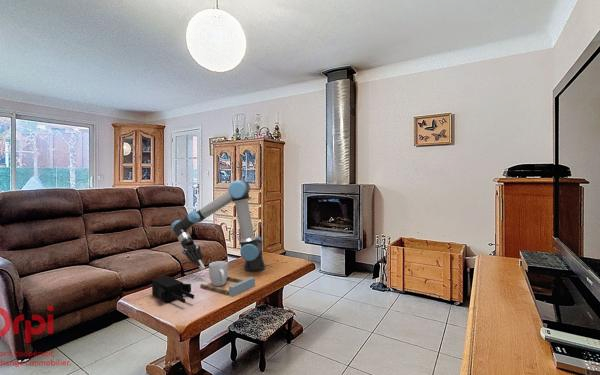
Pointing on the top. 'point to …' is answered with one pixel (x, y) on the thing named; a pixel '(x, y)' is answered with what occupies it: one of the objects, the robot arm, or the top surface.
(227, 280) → the channel
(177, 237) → the robot arm
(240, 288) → the stop
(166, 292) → the black power adapter
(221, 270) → the mug
